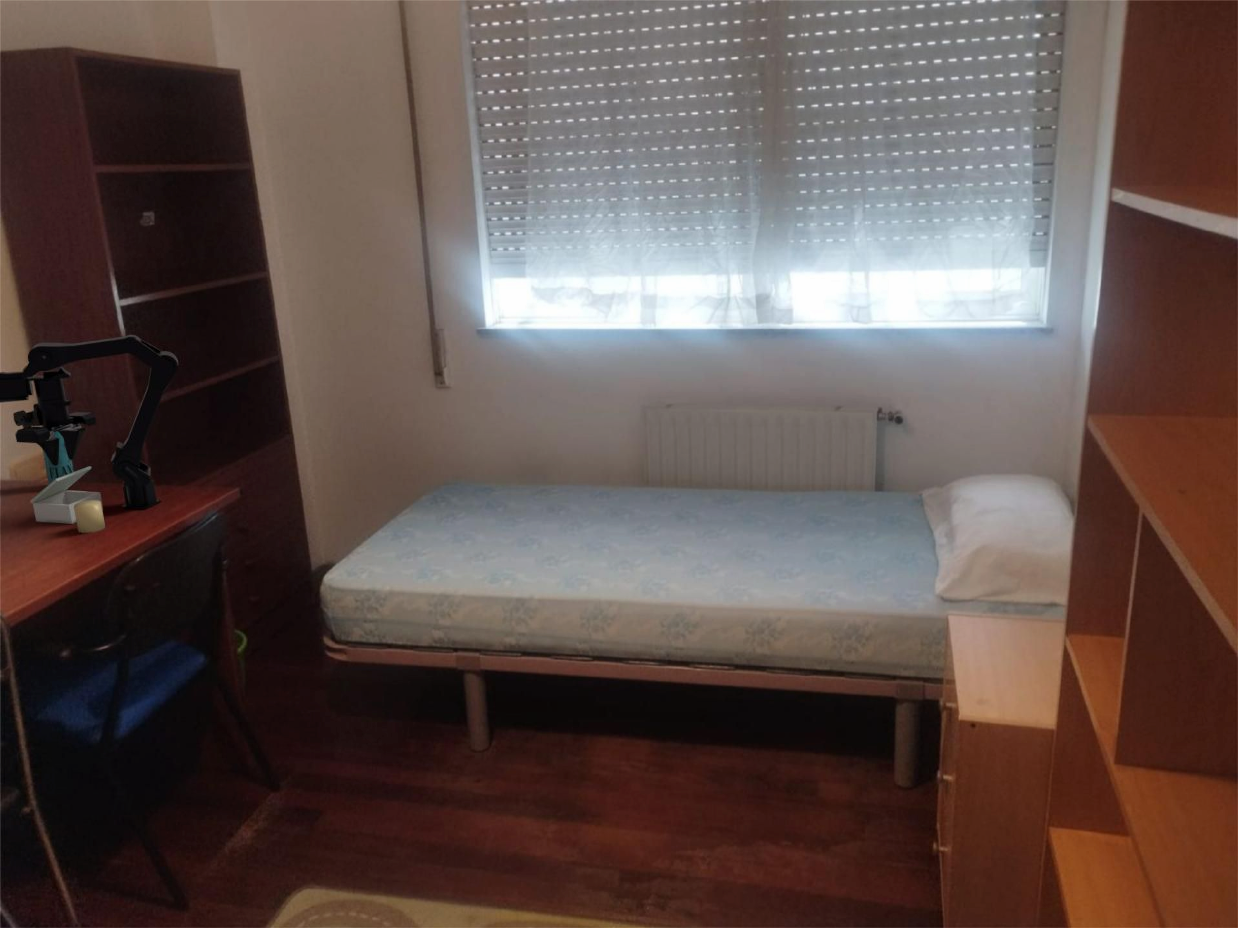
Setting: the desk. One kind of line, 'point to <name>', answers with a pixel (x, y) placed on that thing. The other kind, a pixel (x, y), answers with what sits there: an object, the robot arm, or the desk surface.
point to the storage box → (62, 506)
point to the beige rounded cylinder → (89, 516)
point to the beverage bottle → (63, 463)
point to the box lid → (60, 484)
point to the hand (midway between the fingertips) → (63, 462)
